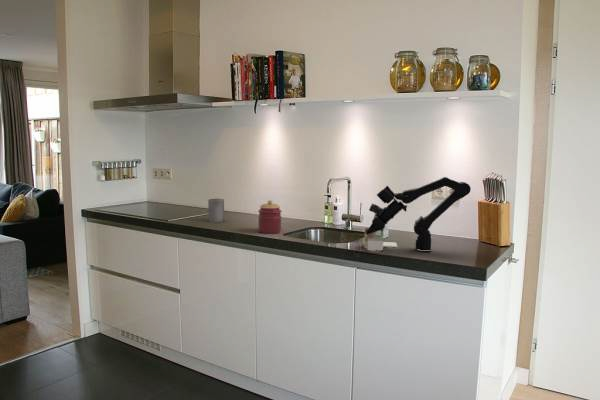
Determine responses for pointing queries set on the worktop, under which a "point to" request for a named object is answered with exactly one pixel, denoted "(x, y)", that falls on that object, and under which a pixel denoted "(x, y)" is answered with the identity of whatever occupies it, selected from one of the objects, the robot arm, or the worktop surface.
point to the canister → (269, 218)
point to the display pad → (389, 244)
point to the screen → (375, 244)
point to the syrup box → (382, 231)
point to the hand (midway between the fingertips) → (367, 232)
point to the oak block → (371, 235)
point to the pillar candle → (216, 210)
